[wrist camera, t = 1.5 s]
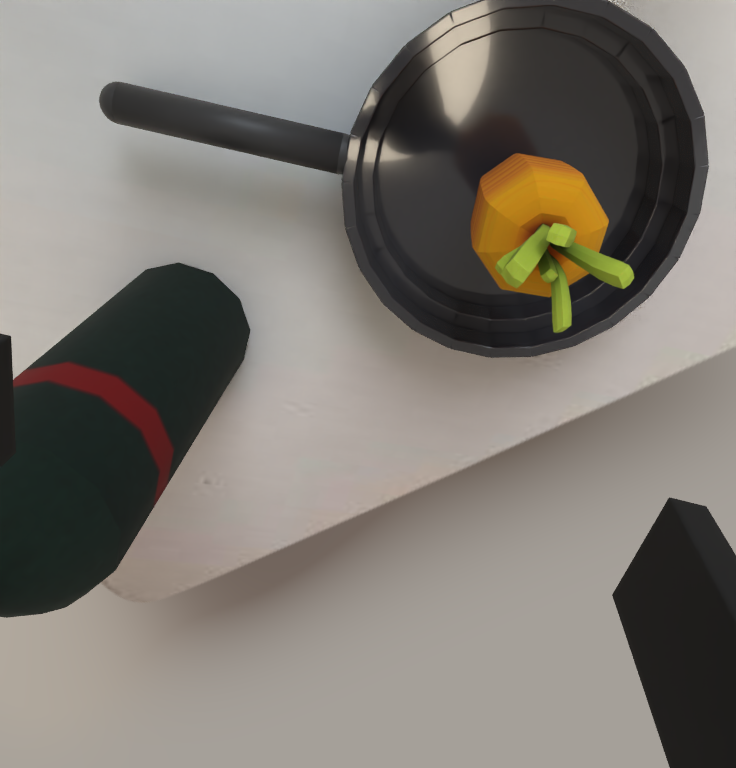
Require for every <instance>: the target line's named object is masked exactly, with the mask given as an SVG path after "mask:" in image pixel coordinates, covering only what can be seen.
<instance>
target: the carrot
mask: <svg viewBox="0 0 736 768" xmlns="http://www.w3.org/2000/svg"><path fill="white" fill-rule="evenodd" d="M608 223H609V219H608V218H607V216H606V214H605V212H604V211H603V209H602V207H601V205H600V204H599V202H598V200H597V198H596V196H595V195H594V193H593V191H592V189H591V188H590V186H589V184H588V182H587V181H586V179H585V177H584V175H583V174H582V173H581V172H579V171H578V170H576V169H575V168H573V167H572V166H570V165H568V164H566V163H564V162H562V161H560V160H554V159H549V158H543V157H537V156H531V155H525V154H519V153H516V154H513V155H512V156H510V157H509V158H507V159H506V160H505V161H503V162H502V163H500V164H499V165H497V166H496V167H495V168H493V169H492V170H490V171H489V172H487V173H486V174H485V175H483V176H482V178H481V179H480V183H479V187H478V191H477V196H476V200H475V205H474V209H473V213H472V218H471V240H472V247H473V249H474V250H475V252H476V253H477V255H478V256H479V258H480V259H481V261H482V262H483V264H484V265H485V267H486V268H487V270H488V271H489V273H490V274H491V276H492V277H493V279H494V280H495V282H496V283H497V285H498V286H499V288H500V289H503V290H509V291H515V292H521V293H526V294H532V295H538V296H544V297H551V296H552V323H553V332H555V333H559V332H563V331H564V330H566V329H567V328H569V327H570V326H571V320H572V312H571V300H570V293H569V287H568V286H569V285H571V284H572V283H574V282H576V281H577V280H579V279H581V278H582V277H584V276H586V275H587V274H589V273H590V274H592V275H593V276H595V277H596V278H598V279H599V280H602V281H604V282H606V283H608V284H610V285H612V286H615V287H618V288H622V289H624V288H626V287H627V286H628V285H630V284H631V282H632V280H633V279H634V274H633V270H632V269H631V267H630V266H629V265H628V264H625V263H623V262H621V261H619V260H616V259H613V258H611V257H608V256H605V255H603V254H601V253H599V251H600V248H601V245H602V242H603V239H604V236H605V233H606V230H607V227H608Z"/></svg>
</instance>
